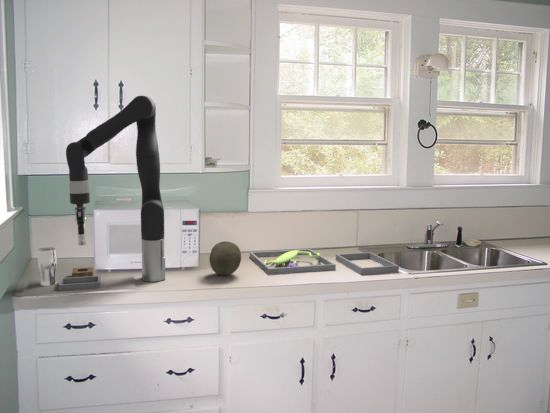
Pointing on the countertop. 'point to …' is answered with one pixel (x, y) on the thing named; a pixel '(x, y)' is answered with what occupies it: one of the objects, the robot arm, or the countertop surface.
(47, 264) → the beer glass
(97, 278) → the tray
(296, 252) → the figurine
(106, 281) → the countertop surface
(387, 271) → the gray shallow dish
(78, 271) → the pin block
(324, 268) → the grey open box
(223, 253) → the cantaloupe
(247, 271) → the countertop surface
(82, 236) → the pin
